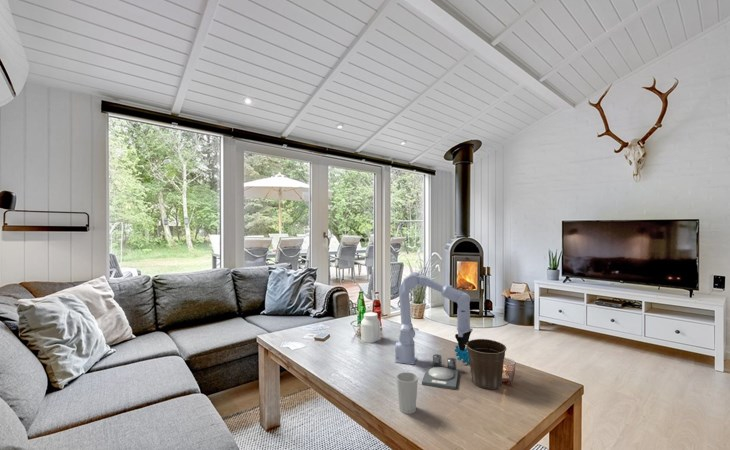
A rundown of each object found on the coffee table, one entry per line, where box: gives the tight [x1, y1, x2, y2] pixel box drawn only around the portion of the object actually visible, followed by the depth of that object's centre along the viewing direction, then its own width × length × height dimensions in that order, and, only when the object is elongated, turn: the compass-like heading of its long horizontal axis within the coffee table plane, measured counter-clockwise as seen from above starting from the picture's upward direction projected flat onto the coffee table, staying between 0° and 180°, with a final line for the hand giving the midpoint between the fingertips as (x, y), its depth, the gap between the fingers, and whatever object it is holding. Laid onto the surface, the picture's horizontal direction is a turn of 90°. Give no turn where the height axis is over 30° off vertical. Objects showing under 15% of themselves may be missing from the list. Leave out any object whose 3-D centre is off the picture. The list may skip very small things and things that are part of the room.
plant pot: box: [465, 338, 507, 390], centre depth 143 cm, size 16×16×16 cm
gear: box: [454, 344, 470, 365], centre depth 166 cm, size 11×6×10 cm
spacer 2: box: [447, 357, 457, 370], centre depth 155 cm, size 4×4×5 cm
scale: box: [421, 365, 459, 390], centre depth 147 cm, size 14×16×2 cm
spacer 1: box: [432, 353, 443, 367], centre depth 160 cm, size 4×4×5 cm
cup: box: [396, 371, 419, 415], centre depth 124 cm, size 8×8×12 cm
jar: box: [360, 311, 382, 344], centre depth 197 cm, size 12×10×15 cm
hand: (463, 347), depth 157 cm, fingers open, 7 cm apart
